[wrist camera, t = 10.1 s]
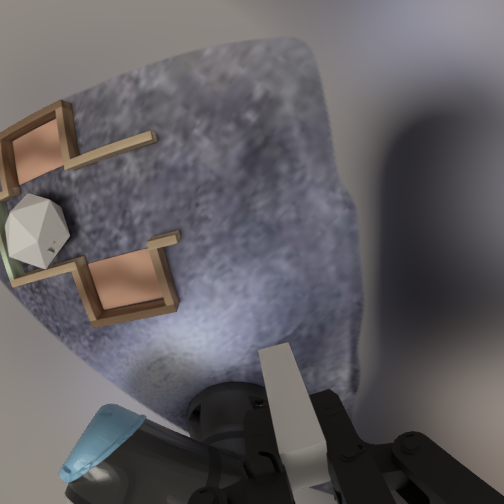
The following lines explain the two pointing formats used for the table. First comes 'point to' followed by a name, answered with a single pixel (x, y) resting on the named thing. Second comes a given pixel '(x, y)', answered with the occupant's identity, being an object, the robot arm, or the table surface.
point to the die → (36, 231)
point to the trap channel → (103, 272)
